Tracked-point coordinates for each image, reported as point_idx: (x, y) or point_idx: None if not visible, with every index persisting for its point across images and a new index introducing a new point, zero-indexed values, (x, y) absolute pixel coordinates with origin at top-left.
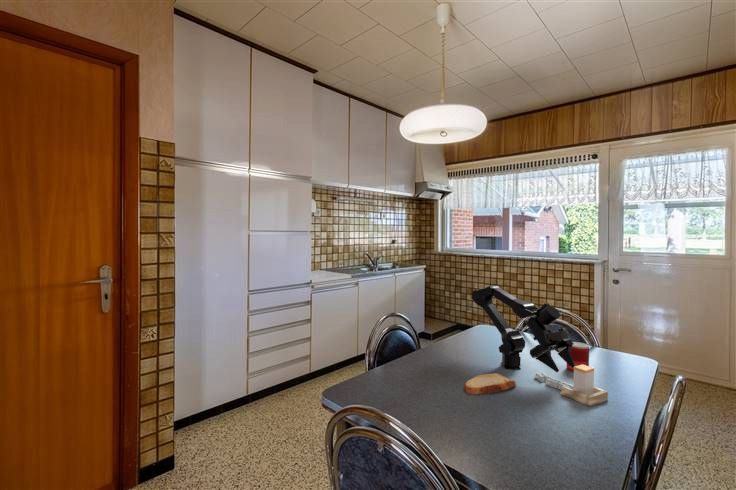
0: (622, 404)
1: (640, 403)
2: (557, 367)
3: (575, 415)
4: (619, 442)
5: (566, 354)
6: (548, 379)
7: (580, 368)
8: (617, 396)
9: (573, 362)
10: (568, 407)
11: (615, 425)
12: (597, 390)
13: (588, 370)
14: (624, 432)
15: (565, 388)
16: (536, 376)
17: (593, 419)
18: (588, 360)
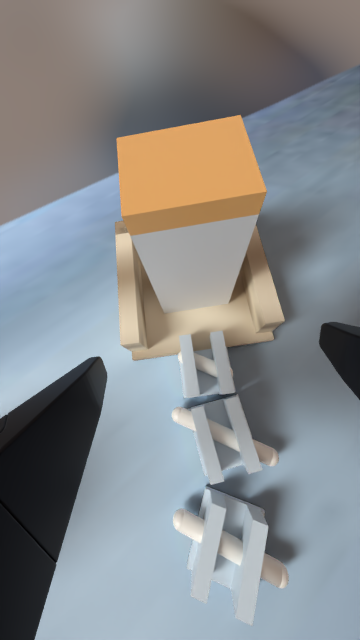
0: (111, 215)
1: (50, 207)
2: (347, 330)
3: (344, 199)
4: (327, 95)
5: (7, 498)
6: (254, 459)
7: (240, 152)
8: (61, 258)
9: (65, 375)
10: (327, 243)
11: (263, 141)
12: (134, 252)
13: (197, 129)
14: (271, 118)
15: (277, 300)
16: (274, 567)
17: (301, 172)
18: None
